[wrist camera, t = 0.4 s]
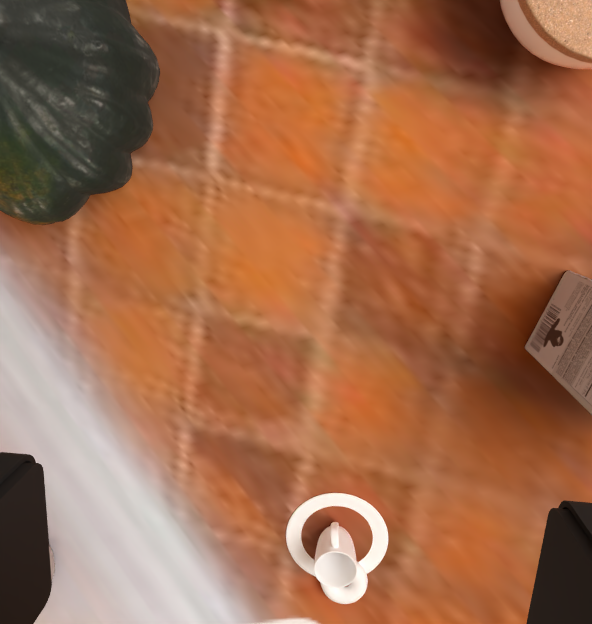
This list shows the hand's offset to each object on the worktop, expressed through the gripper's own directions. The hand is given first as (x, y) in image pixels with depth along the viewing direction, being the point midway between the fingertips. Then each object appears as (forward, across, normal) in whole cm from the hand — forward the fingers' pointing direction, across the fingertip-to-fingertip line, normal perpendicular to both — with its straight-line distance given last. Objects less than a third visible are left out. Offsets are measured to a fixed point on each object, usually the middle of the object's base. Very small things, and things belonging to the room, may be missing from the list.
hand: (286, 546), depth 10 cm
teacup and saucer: (+29, 0, +23) cm, 38 cm away
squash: (+29, +17, -10) cm, 35 cm away
